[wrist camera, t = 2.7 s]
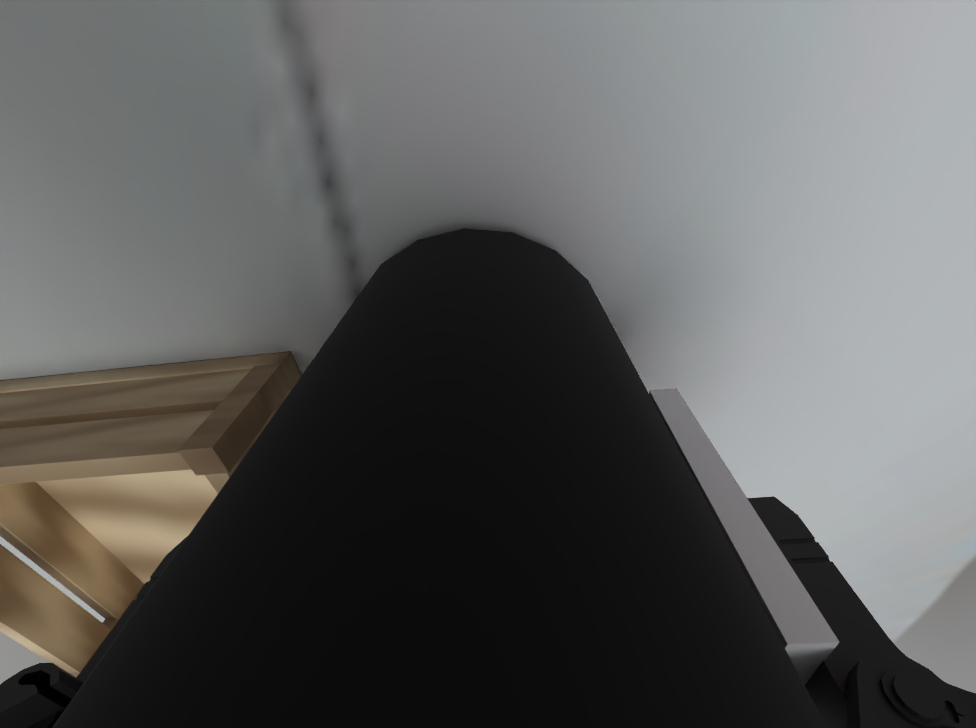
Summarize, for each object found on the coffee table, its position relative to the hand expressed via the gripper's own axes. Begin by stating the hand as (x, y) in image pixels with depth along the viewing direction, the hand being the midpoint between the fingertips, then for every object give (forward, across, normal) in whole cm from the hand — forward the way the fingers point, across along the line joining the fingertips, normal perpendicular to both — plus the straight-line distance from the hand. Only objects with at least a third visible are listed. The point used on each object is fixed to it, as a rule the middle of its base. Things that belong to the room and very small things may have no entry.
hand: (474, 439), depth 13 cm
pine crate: (+6, -17, -8) cm, 20 cm away
